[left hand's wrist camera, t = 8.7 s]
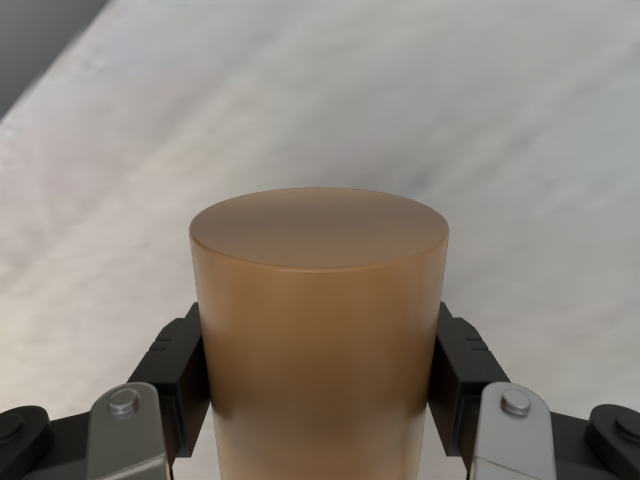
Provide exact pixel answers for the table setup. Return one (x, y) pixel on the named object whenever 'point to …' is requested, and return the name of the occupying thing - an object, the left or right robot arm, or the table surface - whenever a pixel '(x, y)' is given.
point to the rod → (319, 330)
